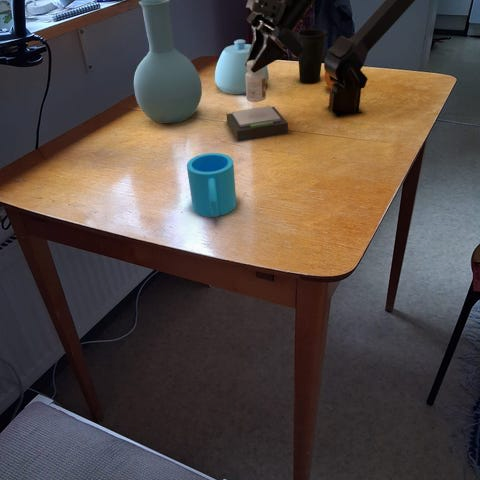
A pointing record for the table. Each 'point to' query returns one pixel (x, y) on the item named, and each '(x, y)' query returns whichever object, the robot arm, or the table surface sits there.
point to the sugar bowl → (234, 68)
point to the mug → (212, 184)
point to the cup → (311, 54)
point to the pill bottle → (255, 84)
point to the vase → (165, 71)
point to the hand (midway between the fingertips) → (249, 68)
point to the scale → (256, 123)
